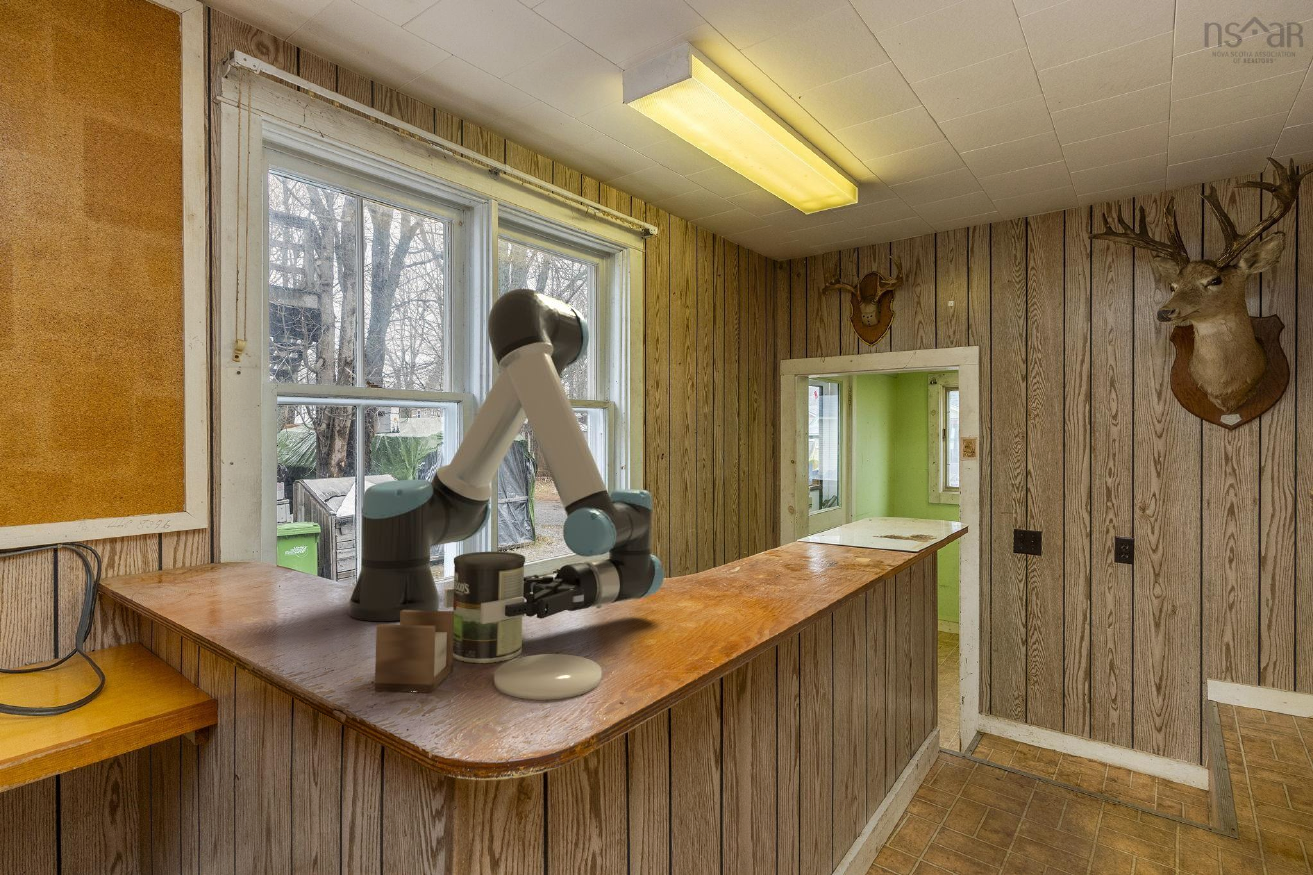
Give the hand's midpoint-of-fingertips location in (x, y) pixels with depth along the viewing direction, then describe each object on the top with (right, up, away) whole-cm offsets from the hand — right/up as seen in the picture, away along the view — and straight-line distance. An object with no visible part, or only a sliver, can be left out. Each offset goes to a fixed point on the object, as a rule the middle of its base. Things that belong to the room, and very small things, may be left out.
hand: (462, 605), depth 93 cm
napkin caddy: (-3, -7, -9) cm, 12 cm away
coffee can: (+3, -8, +3) cm, 9 cm away
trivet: (+14, -8, -7) cm, 17 cm away
